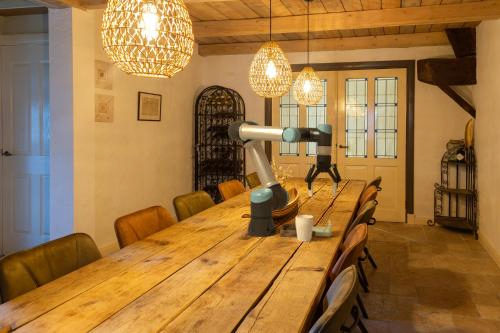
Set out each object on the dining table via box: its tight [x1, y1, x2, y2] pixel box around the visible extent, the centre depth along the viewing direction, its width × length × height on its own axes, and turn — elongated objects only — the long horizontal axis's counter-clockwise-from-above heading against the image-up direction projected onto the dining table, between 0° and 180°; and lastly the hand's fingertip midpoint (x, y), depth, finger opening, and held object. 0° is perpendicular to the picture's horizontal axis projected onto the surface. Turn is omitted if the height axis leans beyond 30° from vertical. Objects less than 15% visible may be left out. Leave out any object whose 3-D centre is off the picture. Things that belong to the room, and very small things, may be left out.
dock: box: [279, 223, 317, 239], centre depth 238 cm, size 18×16×3 cm
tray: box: [312, 219, 332, 237], centre depth 237 cm, size 17×13×6 cm
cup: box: [294, 214, 315, 243], centre depth 224 cm, size 9×9×12 cm
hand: (322, 195), depth 231 cm, fingers open, 13 cm apart
